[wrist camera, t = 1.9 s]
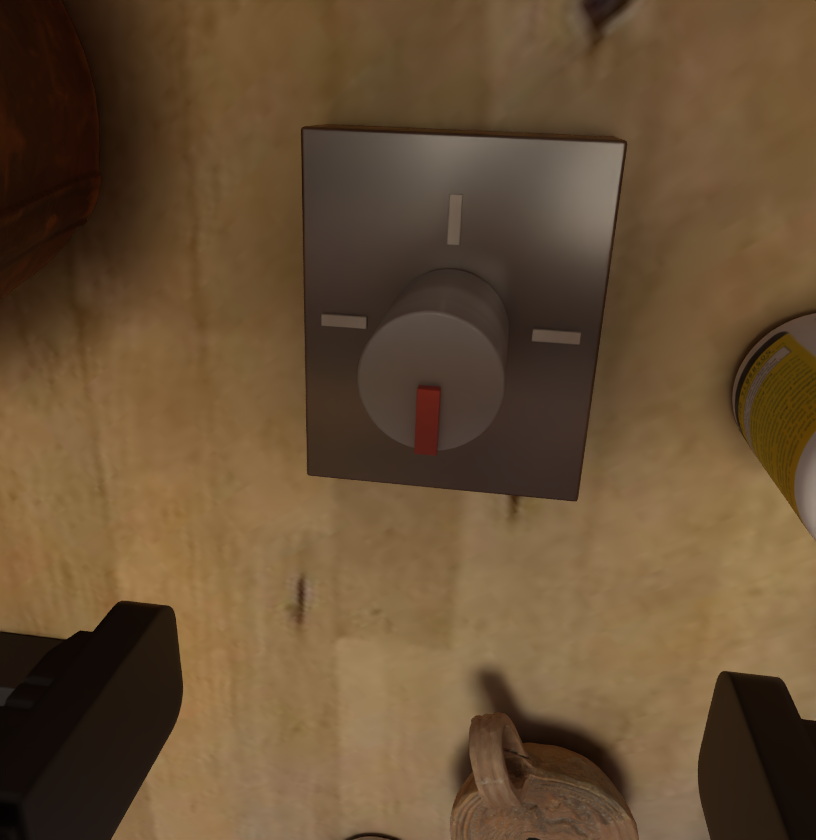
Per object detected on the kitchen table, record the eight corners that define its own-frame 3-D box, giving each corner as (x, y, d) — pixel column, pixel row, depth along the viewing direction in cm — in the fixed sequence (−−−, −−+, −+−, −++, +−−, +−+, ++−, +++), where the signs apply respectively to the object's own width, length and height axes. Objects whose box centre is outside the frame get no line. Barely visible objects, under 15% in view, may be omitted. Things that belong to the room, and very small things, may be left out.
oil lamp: (666, 873, 34) (688, 992, 30) (508, 895, 36) (506, 1009, 32) (580, 646, 30) (591, 742, 26) (408, 683, 32) (389, 779, 28)
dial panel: (325, 124, 24) (298, 126, 21) (615, 136, 23) (629, 140, 20) (327, 440, 28) (305, 478, 25) (572, 462, 27) (578, 504, 24)
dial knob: (391, 264, 22) (354, 309, 17) (514, 272, 22) (511, 319, 17) (387, 380, 24) (353, 449, 19) (503, 389, 23) (498, 463, 18)
